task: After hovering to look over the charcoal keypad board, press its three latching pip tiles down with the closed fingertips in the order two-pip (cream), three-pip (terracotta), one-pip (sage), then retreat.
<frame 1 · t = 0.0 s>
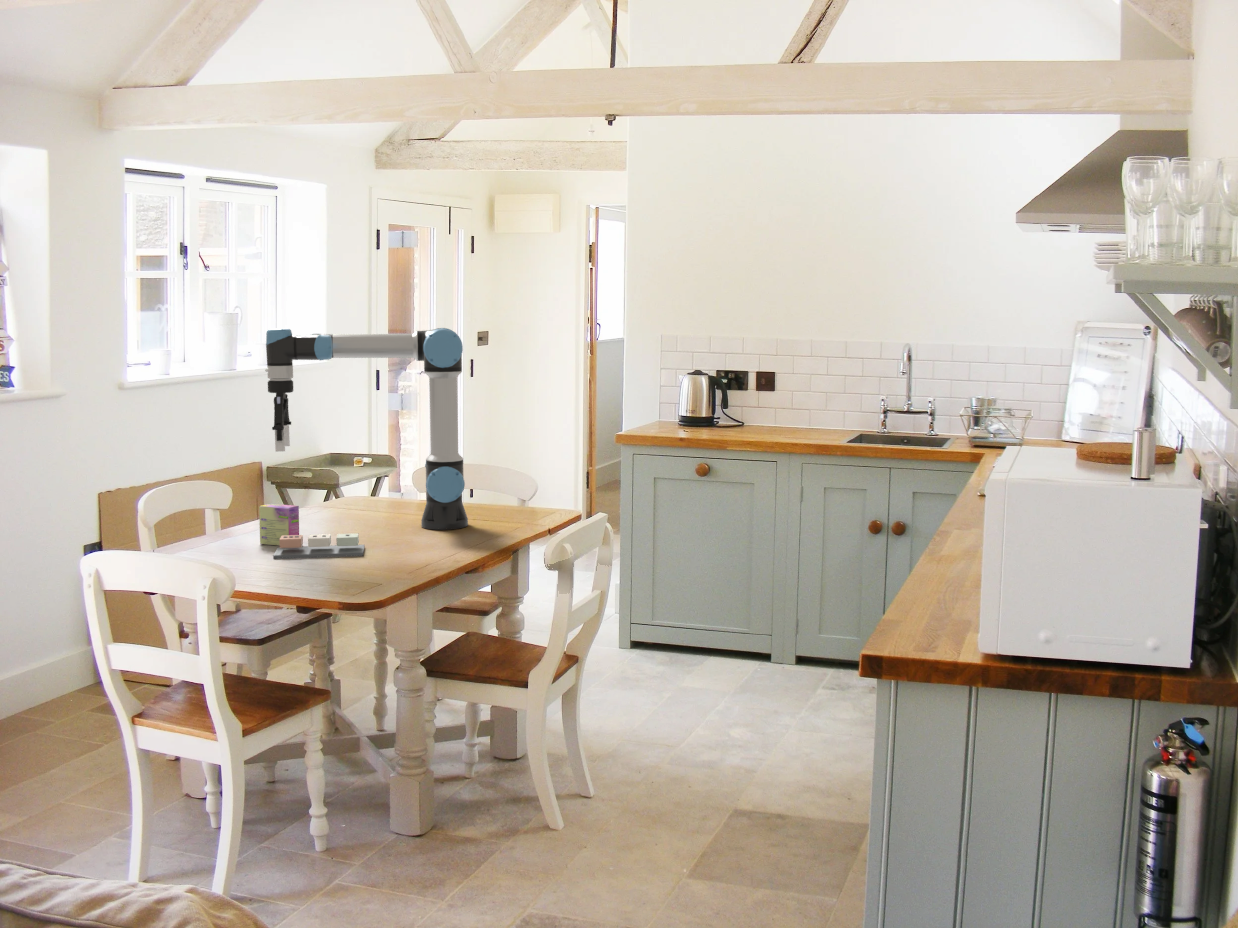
hand: (282, 448, 368), 28 cm above the table, fingers open, 13 cm apart
tile three: (291, 541, 347), point 4 cm above the table, slide at 0.0 cm
tile one: (347, 539, 350), point 4 cm above the table, slide at 0.0 cm
tile two: (319, 540, 349), point 4 cm above the table, slide at 0.0 cm
box: (280, 544, 363), on the table
keypad board: (320, 553, 349), on the table
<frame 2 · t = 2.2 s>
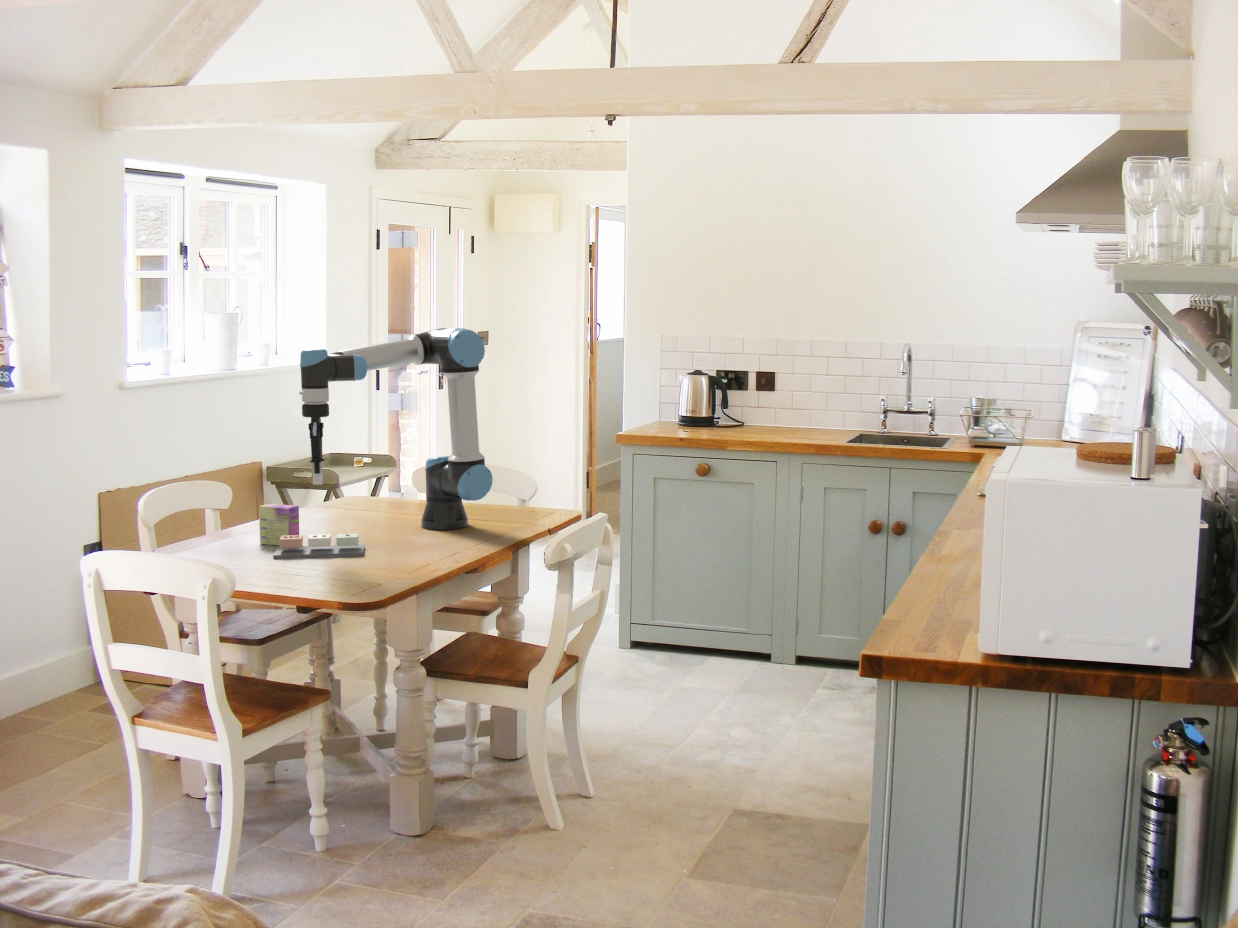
hand: (317, 484, 346), 20 cm above the table, fingers closed
nothing on the table moved.
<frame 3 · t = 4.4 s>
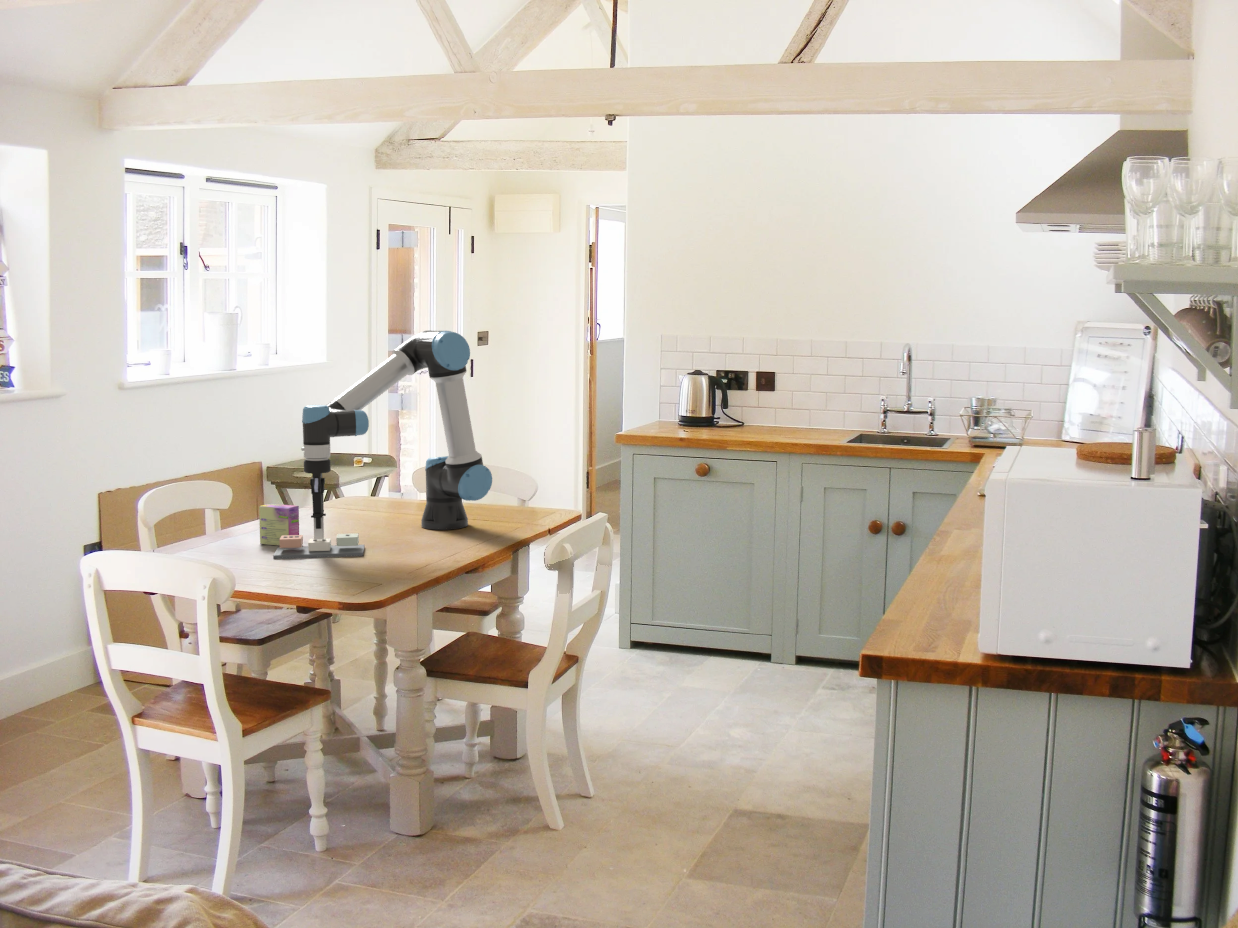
hand: (319, 538, 349), 4 cm above the table, fingers closed
tile two: (319, 544, 349), point 3 cm above the table, slide at 1.2 cm, touching gripper
everything else where it was.
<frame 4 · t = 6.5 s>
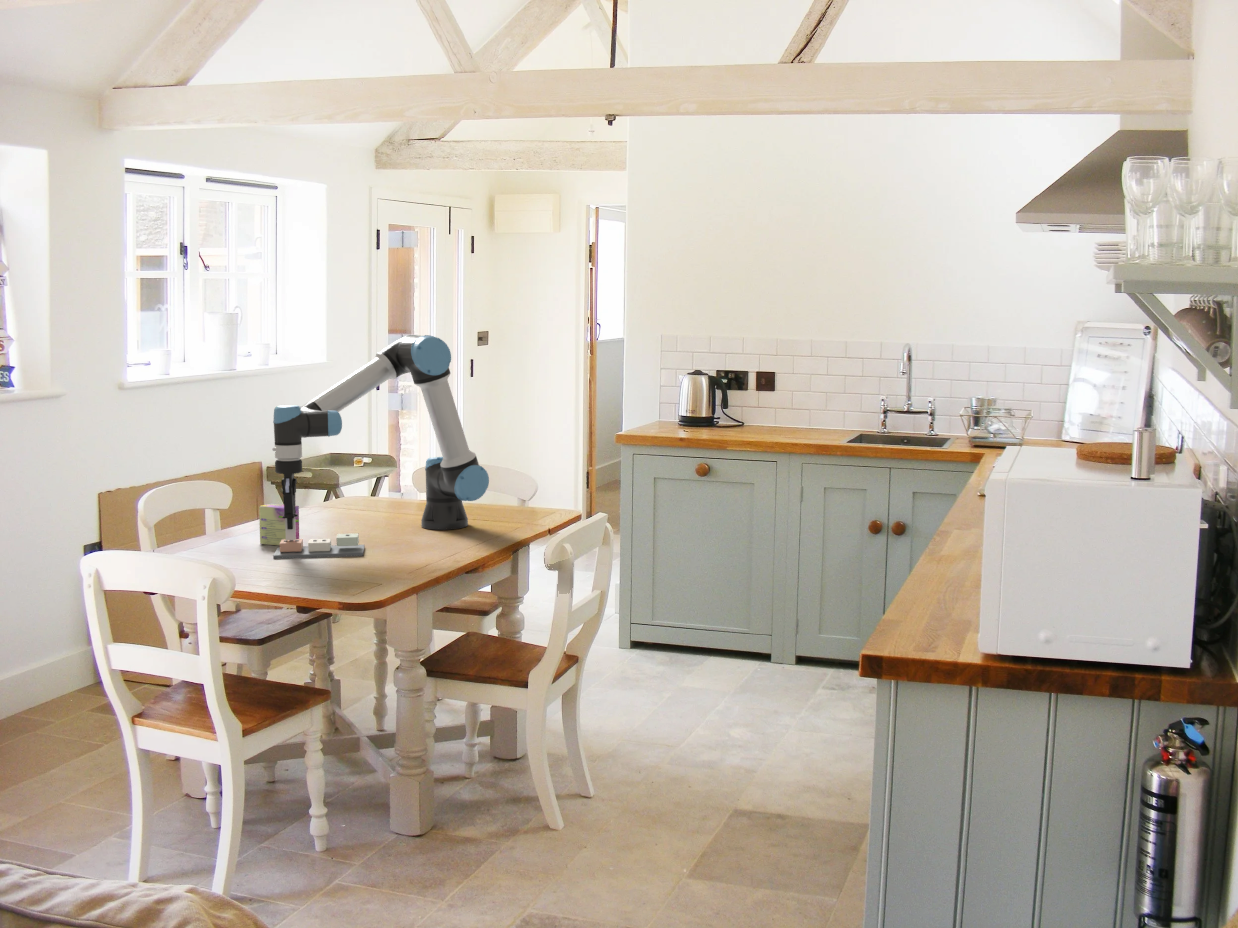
hand: (290, 539, 347), 4 cm above the table, fingers closed
tile three: (291, 544, 347), point 3 cm above the table, slide at 1.2 cm, touching gripper
tile two: (319, 544, 349), point 3 cm above the table, slide at 1.3 cm
everything else where it was.
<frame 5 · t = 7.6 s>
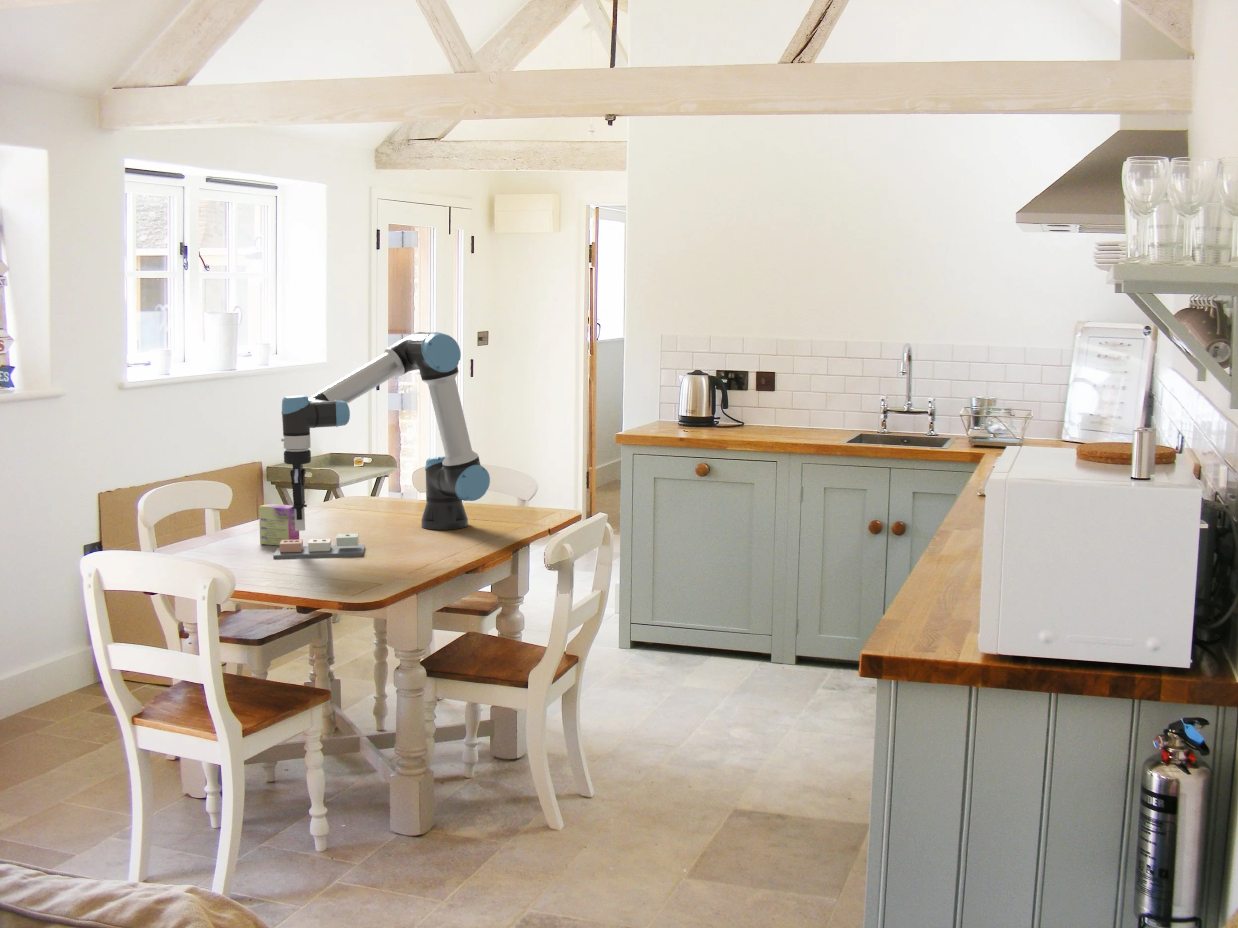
hand: (300, 530, 348), 7 cm above the table, fingers closed
tile three: (291, 545, 348), point 3 cm above the table, slide at 1.3 cm
everything else where it was.
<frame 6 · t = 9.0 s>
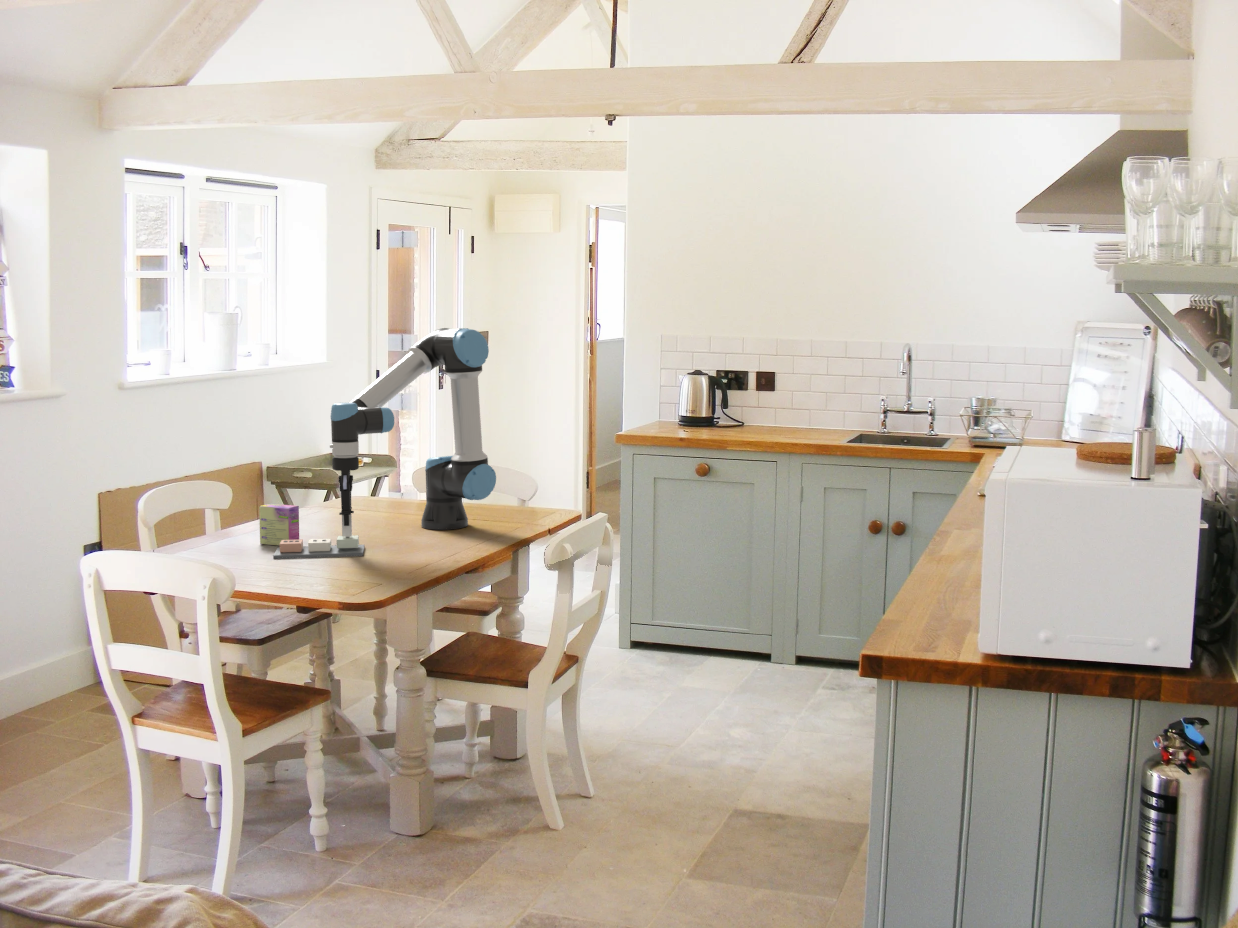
hand: (347, 536, 350), 5 cm above the table, fingers closed
tile one: (347, 541, 350), point 3 cm above the table, slide at 0.6 cm, touching gripper
everything else where it was.
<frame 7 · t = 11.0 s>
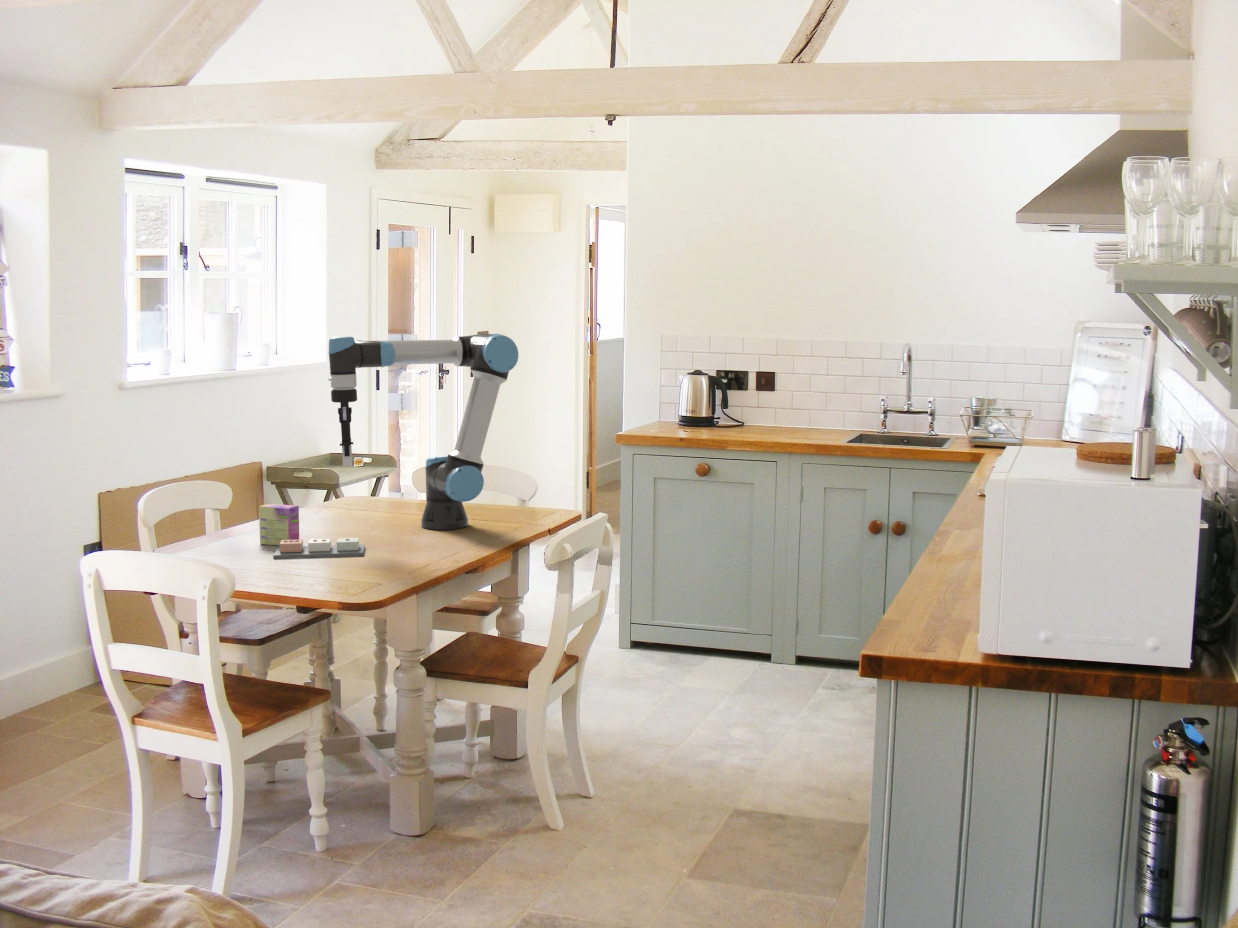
hand: (347, 466, 360), 24 cm above the table, fingers closed
tile one: (347, 543, 350), point 3 cm above the table, slide at 1.3 cm
everything else where it was.
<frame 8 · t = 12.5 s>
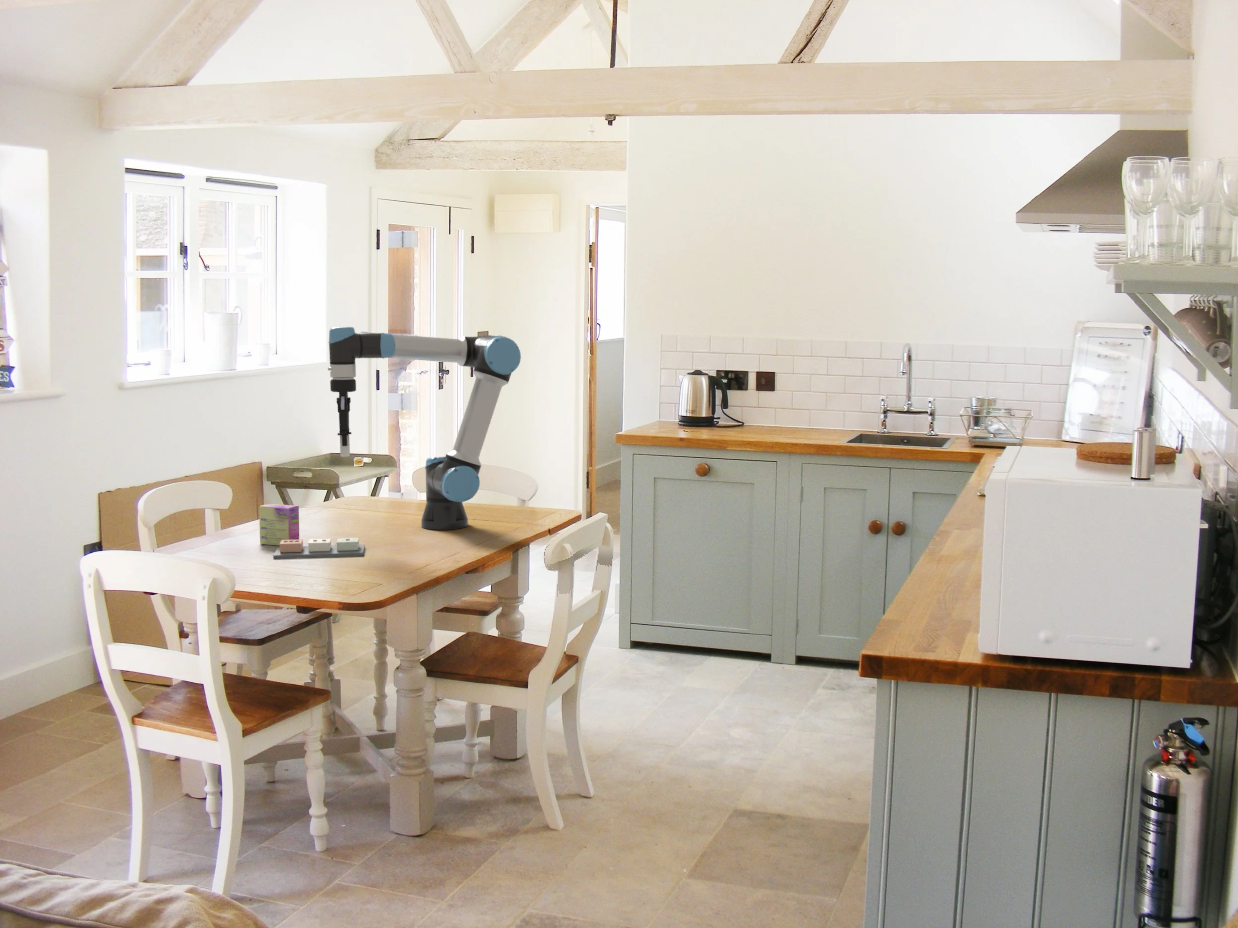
hand: (345, 456, 362), 26 cm above the table, fingers closed
nothing on the table moved.
at the end: tile two slide at 1.3 cm; tile three slide at 1.3 cm; tile one slide at 1.3 cm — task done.
